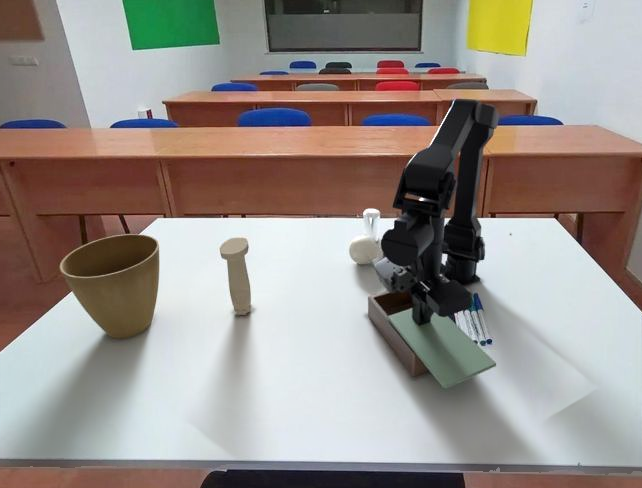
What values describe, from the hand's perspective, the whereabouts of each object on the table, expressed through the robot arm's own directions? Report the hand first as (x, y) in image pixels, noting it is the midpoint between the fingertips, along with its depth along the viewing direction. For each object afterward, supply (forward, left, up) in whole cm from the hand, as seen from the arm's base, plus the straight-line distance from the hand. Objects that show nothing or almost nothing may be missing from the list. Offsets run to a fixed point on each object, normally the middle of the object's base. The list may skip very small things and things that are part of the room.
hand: (421, 316), depth 69 cm
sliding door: (0, +5, -1) cm, 5 cm away
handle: (+27, -24, -6) cm, 36 cm away
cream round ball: (-3, -30, -6) cm, 30 cm away
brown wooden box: (0, -3, -6) cm, 7 cm away
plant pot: (+47, -29, -6) cm, 55 cm away
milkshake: (-10, -39, -6) cm, 40 cm away
